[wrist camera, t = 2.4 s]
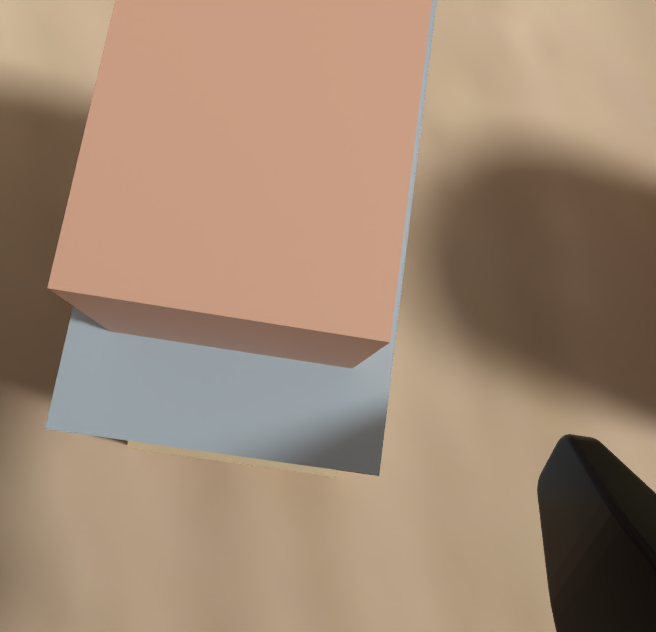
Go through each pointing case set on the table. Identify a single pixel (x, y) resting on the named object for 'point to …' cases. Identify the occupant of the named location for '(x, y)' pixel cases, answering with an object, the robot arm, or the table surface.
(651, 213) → the table surface
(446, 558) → the table surface
